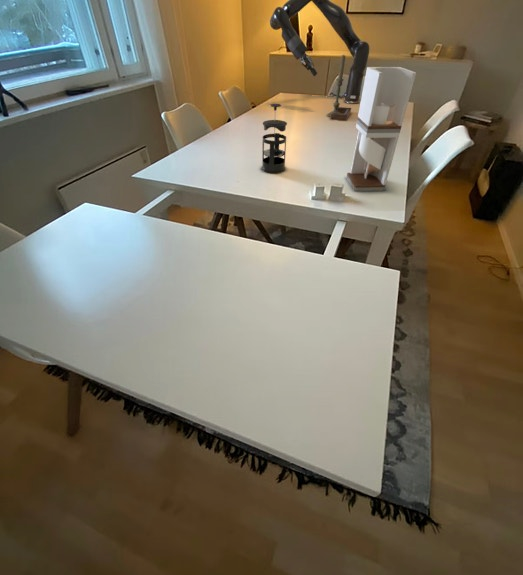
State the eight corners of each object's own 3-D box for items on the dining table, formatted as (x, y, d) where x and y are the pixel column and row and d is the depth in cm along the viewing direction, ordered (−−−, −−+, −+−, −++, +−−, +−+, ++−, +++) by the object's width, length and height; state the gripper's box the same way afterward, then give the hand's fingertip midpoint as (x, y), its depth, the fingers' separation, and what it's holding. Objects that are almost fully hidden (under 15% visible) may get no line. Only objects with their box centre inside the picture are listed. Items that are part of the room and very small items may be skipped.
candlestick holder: (345, 115, 190) (355, 54, 170) (336, 118, 185) (346, 55, 165) (333, 113, 195) (341, 52, 175) (324, 115, 190) (331, 53, 170)
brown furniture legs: (330, 119, 184) (331, 113, 182) (335, 112, 197) (336, 106, 195) (346, 120, 182) (347, 115, 180) (350, 113, 195) (351, 107, 193)
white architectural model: (346, 178, 121) (367, 67, 98) (373, 177, 121) (400, 67, 98) (354, 191, 112) (379, 72, 89) (384, 190, 113) (416, 72, 90)
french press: (282, 174, 123) (286, 108, 108) (259, 172, 124) (259, 106, 109) (287, 164, 132) (291, 100, 116) (265, 162, 133) (266, 99, 118)
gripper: (295, 51, 183) (313, 78, 188) (288, 53, 173) (308, 82, 179) (305, 40, 178) (323, 68, 183) (299, 42, 168) (318, 71, 174)
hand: (315, 75), depth 181 cm, fingers closed
